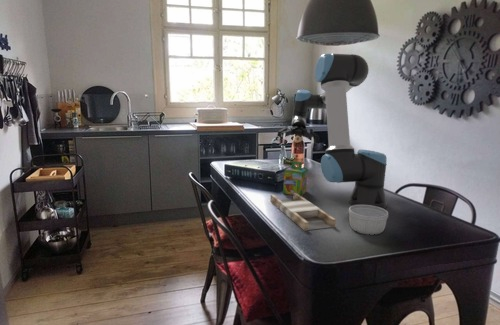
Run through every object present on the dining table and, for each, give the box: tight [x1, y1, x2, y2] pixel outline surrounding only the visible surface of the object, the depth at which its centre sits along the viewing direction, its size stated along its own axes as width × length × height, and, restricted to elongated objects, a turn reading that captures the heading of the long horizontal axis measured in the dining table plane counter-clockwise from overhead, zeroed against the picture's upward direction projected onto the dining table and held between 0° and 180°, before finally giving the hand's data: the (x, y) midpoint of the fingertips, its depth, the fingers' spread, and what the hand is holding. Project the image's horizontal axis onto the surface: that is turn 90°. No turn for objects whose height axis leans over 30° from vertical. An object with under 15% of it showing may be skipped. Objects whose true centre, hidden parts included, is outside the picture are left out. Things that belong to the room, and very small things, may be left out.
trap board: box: [270, 193, 337, 232], centre depth 137 cm, size 33×12×3 cm, turn 18°
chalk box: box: [282, 161, 309, 197], centre depth 162 cm, size 9×9×15 cm
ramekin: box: [348, 205, 389, 236], centre depth 122 cm, size 13×13×7 cm
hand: (297, 143), depth 162 cm, fingers open, 13 cm apart
